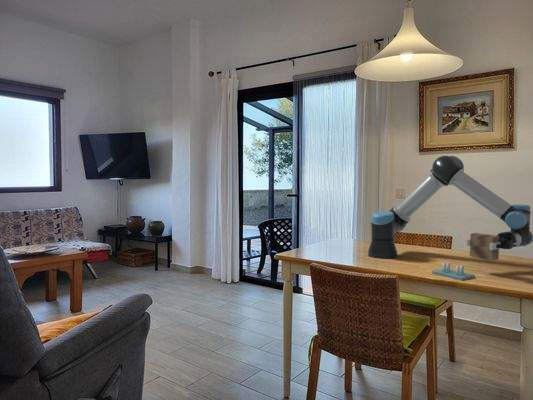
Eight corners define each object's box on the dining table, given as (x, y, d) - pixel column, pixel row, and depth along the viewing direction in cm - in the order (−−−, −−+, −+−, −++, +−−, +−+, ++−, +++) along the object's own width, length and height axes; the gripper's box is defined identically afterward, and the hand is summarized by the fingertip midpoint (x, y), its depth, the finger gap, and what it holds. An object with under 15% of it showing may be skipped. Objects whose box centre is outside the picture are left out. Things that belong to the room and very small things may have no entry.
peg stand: (432, 273, 175) (432, 263, 174) (445, 270, 179) (445, 260, 179) (461, 280, 163) (461, 269, 162) (474, 277, 167) (475, 266, 167)
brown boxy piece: (469, 256, 176) (470, 233, 175) (476, 255, 178) (476, 232, 178) (492, 260, 167) (493, 236, 167) (498, 259, 170) (499, 236, 169)
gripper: (534, 252, 172) (504, 258, 161) (483, 244, 191) (454, 249, 180) (535, 235, 171) (505, 239, 160) (484, 228, 191) (454, 232, 180)
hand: (478, 244), depth 170 cm, fingers closed on brown boxy piece, 10 cm apart
